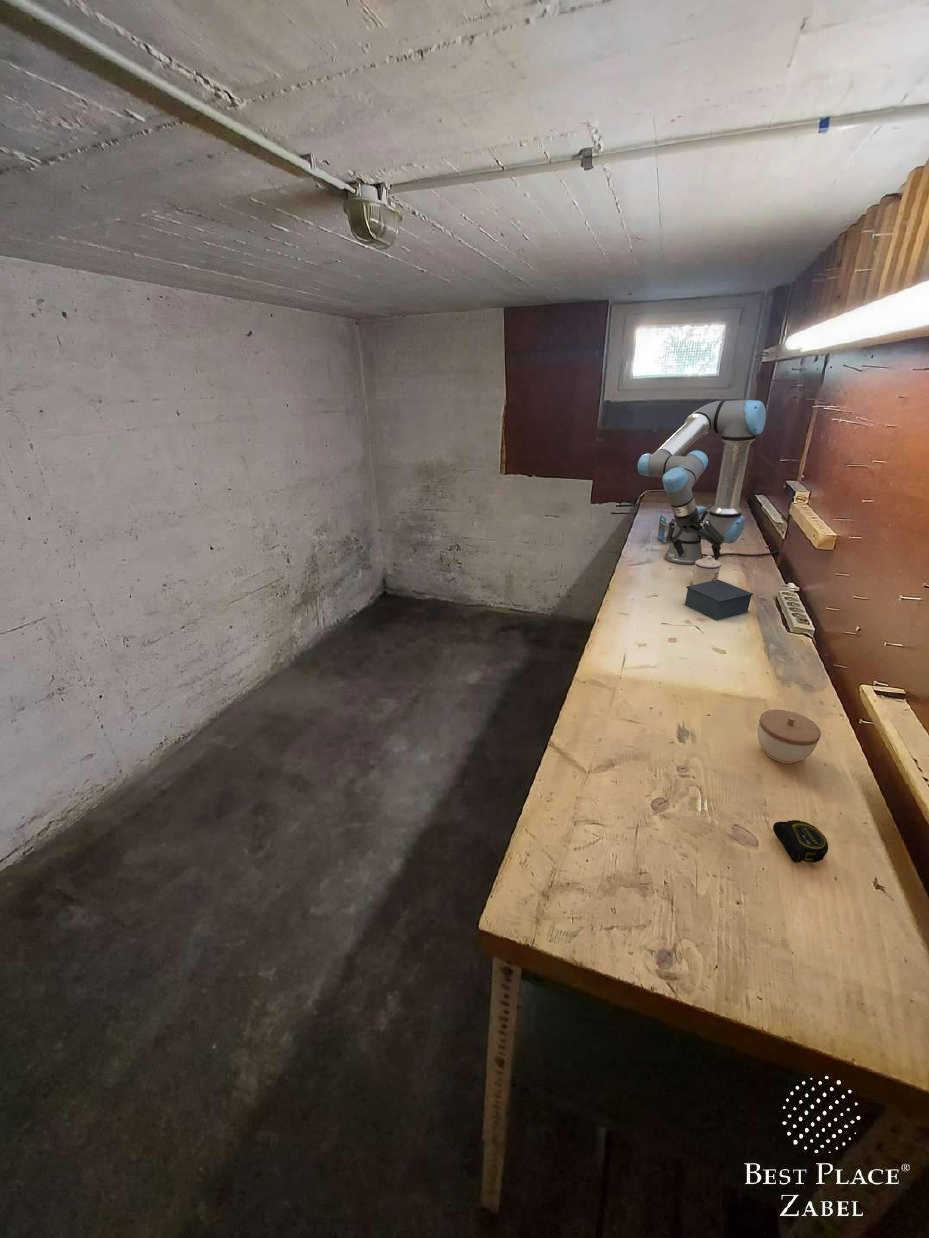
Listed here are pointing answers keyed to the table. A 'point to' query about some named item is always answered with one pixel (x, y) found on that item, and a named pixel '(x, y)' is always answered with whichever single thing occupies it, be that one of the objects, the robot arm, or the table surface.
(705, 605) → the storage box
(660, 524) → the label tape box
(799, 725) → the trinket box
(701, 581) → the teacup with lid
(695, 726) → the table surface
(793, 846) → the tape measure
